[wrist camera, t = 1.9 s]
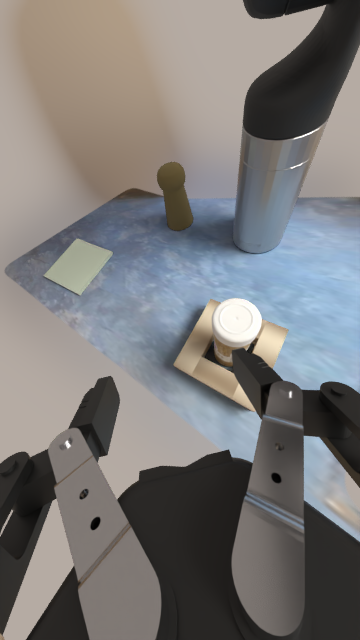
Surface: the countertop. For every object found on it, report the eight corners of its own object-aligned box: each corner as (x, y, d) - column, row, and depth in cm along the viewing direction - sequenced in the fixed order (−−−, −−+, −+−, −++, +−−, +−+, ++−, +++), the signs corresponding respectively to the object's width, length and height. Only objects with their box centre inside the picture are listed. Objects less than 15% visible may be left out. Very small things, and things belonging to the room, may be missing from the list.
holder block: (211, 307, 33) (210, 298, 30) (282, 336, 29) (288, 329, 26) (177, 368, 30) (173, 365, 27) (251, 411, 26) (255, 412, 23)
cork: (178, 208, 45) (167, 153, 35) (198, 216, 43) (192, 160, 33) (162, 225, 44) (145, 173, 34) (182, 234, 41) (170, 181, 32)
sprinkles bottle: (209, 345, 31) (203, 307, 18) (235, 334, 30) (246, 289, 18) (221, 372, 29) (224, 350, 16) (249, 360, 28) (273, 329, 16)
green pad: (78, 240, 47) (76, 238, 46) (113, 253, 43) (112, 251, 42) (45, 277, 44) (43, 275, 43) (80, 295, 40) (78, 294, 39)
